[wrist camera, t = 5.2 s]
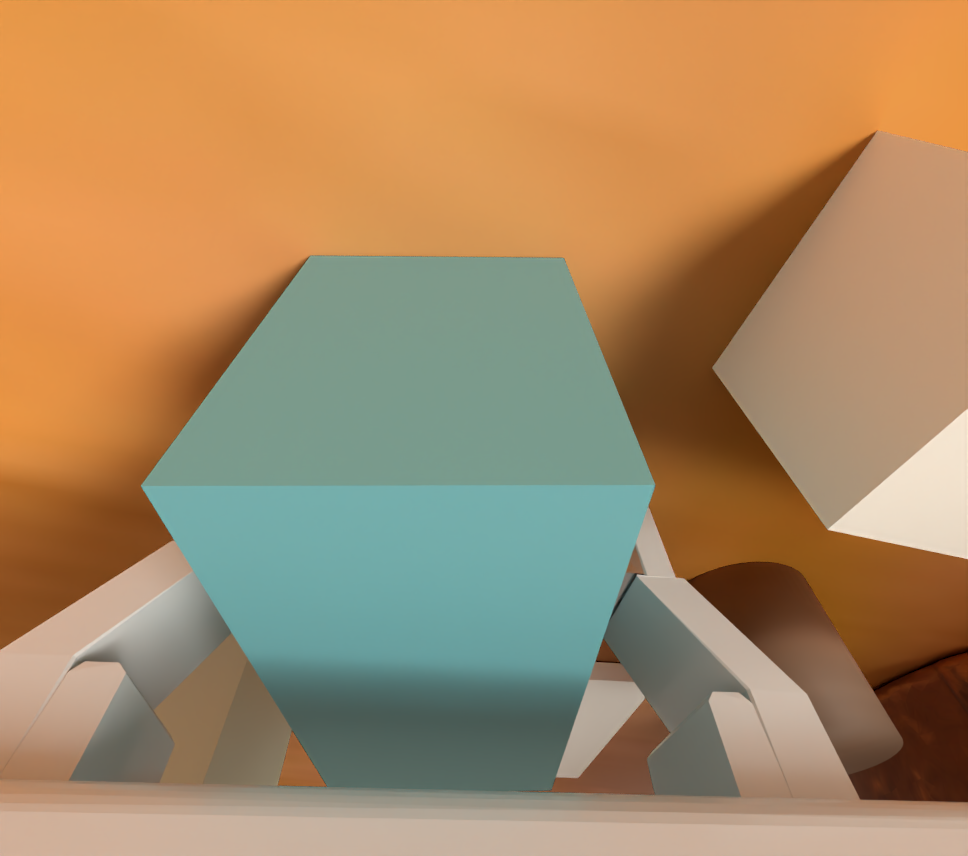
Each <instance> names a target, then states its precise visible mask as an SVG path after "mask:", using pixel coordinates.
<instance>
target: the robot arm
mask: <svg viewBox="0 0 968 856" xmlns="http://www.w3.org/2000/svg"><path fill="white" fill-rule="evenodd" d="M231 633H232V632H231V631H230V629H229V628H228V626H227V624H226V623H225V621H224V619H223V618H222V616H221V615H220V613H219V611H218V610H217V608H216V607H215V605H214V603H213V602H212V600H211V599H210V597H209V595H208V594H207V592H206V590H205V589H204V587H203V586H202V584H201V582H200V581H199V579H198V578H197V576H196V574H195V573H194V571H193V570H192V568H191V566H190V565H189V563H188V561H187V560H186V558H185V557H184V555H183V553H182V552H181V550H180V549H179V547H178V545H177V544H176V542H175V541H170V542H169V543H167V544H166V545H164V546H163V547H161V548H159V549H158V550H156V551H155V552H153V553H152V554H150V555H148V556H147V557H145V558H144V559H142V560H141V561H139V562H137V563H136V564H134V565H133V566H131V567H130V568H128V569H126V570H125V571H123V572H122V573H120V574H119V575H117V576H116V577H114V578H112V579H111V580H109V581H108V582H106V583H105V584H103V585H101V586H100V587H98V588H97V589H95V590H94V591H92V592H90V593H89V594H87V595H86V596H84V597H83V598H81V599H79V600H78V601H76V602H75V603H73V604H72V605H70V606H68V607H67V608H65V609H64V610H62V611H61V612H59V613H57V614H56V615H54V616H53V617H51V618H50V619H48V620H46V621H45V622H43V623H42V624H40V625H39V626H37V627H35V628H34V629H32V630H31V631H29V632H28V633H26V634H24V635H23V636H21V637H20V638H18V639H17V640H15V641H13V642H12V643H10V644H9V645H7V646H6V647H4V648H2V649H1V650H0V856H968V802H937V801H896V800H860V798H859V796H858V794H857V792H856V790H855V788H854V786H853V784H852V782H851V780H850V778H849V776H848V774H847V772H846V770H845V768H844V766H843V764H842V762H841V760H840V758H839V757H838V755H837V753H836V751H835V749H834V747H833V745H832V743H831V741H830V739H829V737H828V735H827V733H826V731H825V729H824V727H823V725H822V723H821V721H820V719H819V717H818V715H817V713H816V711H815V709H814V707H813V705H812V703H811V701H810V699H809V697H808V695H807V694H806V693H805V692H804V691H803V690H802V689H801V688H800V687H799V686H798V685H797V684H796V683H795V682H794V681H793V680H791V679H790V678H789V677H788V676H787V675H786V674H785V673H784V672H783V671H782V670H781V669H780V668H779V667H778V666H777V665H776V664H774V663H773V662H772V661H771V660H770V659H769V658H768V657H767V656H766V655H765V654H764V653H763V652H762V651H761V650H760V649H759V648H757V647H756V646H755V645H754V644H753V643H752V642H751V641H750V640H749V639H748V638H747V637H746V636H745V635H744V634H743V633H741V632H740V631H739V630H738V629H737V628H736V627H735V626H734V625H733V624H732V623H731V622H730V621H729V620H728V619H727V618H726V617H724V616H723V615H722V614H721V613H720V612H719V611H718V610H717V609H716V608H715V607H714V606H713V605H712V604H711V603H710V602H709V601H707V600H706V599H705V598H704V597H703V596H702V595H701V594H700V593H699V592H698V591H697V590H696V589H695V588H694V587H693V586H692V585H690V584H689V583H688V582H687V581H686V580H685V579H684V578H676V577H675V574H674V572H673V569H672V566H671V564H670V561H669V558H668V556H667V553H666V551H665V548H664V545H663V543H662V540H661V538H660V535H659V532H658V530H657V527H656V524H655V522H654V519H653V517H652V514H651V511H650V509H649V506H648V508H647V511H646V514H645V517H644V520H643V523H642V526H641V529H640V532H639V535H638V538H637V541H636V544H635V546H634V549H633V552H632V555H631V558H630V561H629V564H628V567H627V570H626V573H625V576H624V579H623V582H622V585H621V587H620V590H619V593H618V596H617V599H616V602H615V605H614V608H613V611H612V614H611V617H610V620H609V623H608V626H607V629H606V631H605V634H604V637H603V638H604V640H605V641H606V643H607V644H608V646H609V647H610V648H611V650H612V651H613V653H614V654H615V655H616V657H617V658H618V660H619V661H620V663H621V664H622V665H623V667H624V668H625V670H626V671H627V672H628V674H629V675H630V677H631V678H632V679H633V681H634V682H635V684H636V685H637V687H638V688H639V689H640V691H641V692H642V694H643V695H644V696H645V698H646V699H647V701H648V702H649V704H650V705H651V706H652V708H653V709H654V711H655V712H656V713H657V715H658V716H659V718H660V719H661V720H662V722H663V723H664V725H665V726H666V728H667V729H668V730H669V732H670V734H669V735H668V736H667V737H666V738H665V739H664V740H663V741H662V742H661V743H660V744H659V745H658V746H657V747H656V748H655V749H654V750H653V751H652V752H651V754H650V755H649V756H648V758H647V763H648V767H649V772H650V776H651V780H652V785H653V789H654V793H655V795H645V794H604V793H562V792H520V791H479V790H437V789H395V788H353V787H312V786H270V785H228V784H187V783H160V780H161V778H162V775H163V773H164V770H165V768H166V765H167V763H168V760H169V758H170V755H171V753H172V750H173V748H174V746H175V743H174V741H173V739H172V736H171V734H170V733H169V732H168V730H167V729H166V727H165V726H164V725H163V723H162V722H161V720H160V719H159V718H158V716H157V715H156V713H155V712H154V709H155V708H156V707H157V706H158V705H159V704H160V703H161V702H162V701H163V700H164V699H166V698H167V697H168V696H169V695H170V694H171V693H172V692H173V691H174V690H175V689H176V688H177V687H178V686H179V685H180V684H181V683H182V682H183V681H184V680H185V679H186V678H187V677H188V676H189V675H190V674H191V673H192V672H193V671H194V670H195V669H196V668H197V667H198V666H199V665H200V664H201V663H202V662H203V661H204V660H205V659H206V658H207V657H208V656H209V655H210V654H211V653H212V652H213V651H214V650H215V649H216V648H217V647H218V646H219V645H220V644H221V643H222V642H223V641H224V640H225V639H226V638H227V637H228V636H229V635H230V634H231Z"/></svg>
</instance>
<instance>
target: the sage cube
mask: <svg viewBox="0 0 968 856" xmlns="http://www.w3.org/2000/svg"><path fill="white" fill-rule="evenodd" d="M154 712H155V713H156V715H157V716H158V718H159V719H160V720H161V722H162V723H163V725H164V726H165V727H166V729H167V730H168V732H169V733H170V734H171V736H172V739H173V741H174V743H175V746H174V748H173V750H172V753H171V755H170V758H169V760H168V763H167V765H166V768H165V770H164V773H163V775H162V778H161V780H160V783H187V784H228V785H270V786H278V782H279V778H280V774H281V771H282V767H283V763H284V759H285V755H286V751H287V748H288V744H289V740H290V736H291V732H292V729H291V727H290V726H289V724H288V723H287V721H286V719H285V718H284V716H283V714H282V713H281V711H280V710H279V708H278V706H277V705H276V703H275V702H274V700H273V698H272V697H271V695H270V694H269V692H268V690H267V689H266V687H265V685H264V684H263V682H262V681H261V679H260V677H259V676H258V674H257V673H256V671H255V669H254V668H253V666H252V665H251V663H250V661H249V660H248V658H247V657H246V655H245V653H244V652H243V650H242V648H241V647H240V645H239V644H238V642H237V640H236V639H235V637H234V636H233V634H232V633H231V634H230V635H229V636H228V637H227V638H226V639H225V640H224V641H223V642H222V643H221V644H220V645H219V646H218V647H217V648H216V649H215V650H214V651H213V652H212V653H211V654H210V655H209V656H208V657H207V658H206V659H205V660H204V661H203V662H202V663H201V664H200V665H199V666H198V667H197V668H196V669H195V670H194V671H193V672H192V673H191V674H190V675H189V676H188V677H187V678H186V679H185V680H184V681H183V682H182V683H181V684H180V685H179V686H178V687H177V688H176V689H175V690H174V691H173V692H172V693H171V694H170V695H169V696H168V697H167V698H166V699H164V700H163V701H162V702H161V703H160V704H159V705H158V706H157V707H156V708H155V709H154Z"/></svg>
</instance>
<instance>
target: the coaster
mask: <svg viewBox="0 0 968 856" xmlns="http://www.w3.org/2000/svg"><path fill="white" fill-rule="evenodd" d="M644 699H645V696H644V695H643V694H642V692H641V691H640V689H639V688H638V687H637V685H636V684H635V682H634V681H633V679H632V678H631V677H630V675H629V674H628V672H627V671H626V670H625V668H624V667H623V665H622V664H621V663H605V662H595V664H594V667H593V670H592V672H591V675H590V678H589V681H588V684H587V687H586V690H585V693H584V696H583V699H582V702H581V705H580V708H579V711H578V713H577V716H576V719H575V722H574V725H573V728H572V731H571V734H570V737H569V740H568V743H567V746H566V749H565V752H564V755H563V757H562V760H561V763H560V766H559V769H558V772H557V775H556V777H560V778H578V777H579V776H580V775H581V774H582V773H583V772H584V770H585V769H586V768H587V767H588V766H589V764H590V763H591V762H592V761H593V760H594V759H595V757H596V756H597V755H598V754H599V753H600V751H601V750H602V749H603V748H604V747H605V745H606V744H607V743H608V742H609V741H610V740H611V738H612V737H613V736H614V735H615V734H616V732H617V731H618V730H619V729H620V728H621V727H622V725H623V724H624V723H625V722H626V721H627V719H628V718H629V717H630V716H631V715H632V713H633V712H634V711H635V710H636V709H637V708H638V706H639V705H640V704H641V703H642V702H643V700H644Z"/></svg>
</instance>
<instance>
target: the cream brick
mask: <svg viewBox="0 0 968 856" xmlns="http://www.w3.org/2000/svg"><path fill="white" fill-rule="evenodd" d="M712 369H713V370H714V371H715V373H716V374H717V376H718V377H719V378H720V380H721V381H722V383H723V384H724V385H725V387H726V388H727V390H728V391H729V392H730V394H731V395H732V397H733V398H734V399H735V401H736V402H737V404H738V405H739V406H740V408H741V409H742V411H743V412H744V413H745V415H746V416H747V418H748V419H749V420H750V422H751V423H752V425H753V426H754V427H755V429H756V430H757V432H758V433H759V434H760V436H761V437H762V439H763V440H764V441H765V443H766V444H767V446H768V447H769V448H770V450H771V451H772V453H773V454H774V455H775V457H776V458H777V460H778V461H779V462H780V464H781V465H782V467H783V468H784V469H785V471H786V472H787V474H788V475H789V476H790V478H791V479H792V481H793V482H794V483H795V485H796V486H797V488H798V489H799V490H800V492H801V493H802V495H803V496H804V497H805V499H806V500H807V502H808V503H809V504H810V506H811V507H812V509H813V510H814V511H815V513H816V514H817V516H818V517H819V518H820V520H821V521H822V523H823V524H824V525H825V527H826V528H827V530H831V531H836V532H841V533H846V534H850V535H855V536H860V537H865V538H870V539H874V540H879V541H884V542H889V543H893V544H898V545H903V546H908V547H912V548H917V549H922V550H927V551H932V552H936V553H941V554H946V555H951V556H955V557H960V558H965V559H968V152H966V151H962V150H958V149H953V148H949V147H945V146H941V145H937V144H933V143H928V142H924V141H920V140H916V139H912V138H907V137H903V136H899V135H895V134H891V133H887V132H882V131H877V132H876V133H875V135H874V136H873V138H872V139H871V141H870V142H869V143H868V145H867V146H866V148H865V149H864V151H863V152H862V154H861V155H860V156H859V158H858V159H857V161H856V162H855V164H854V165H853V166H852V168H851V169H850V171H849V172H848V174H847V175H846V176H845V178H844V179H843V181H842V182H841V184H840V185H839V187H838V188H837V189H836V191H835V192H834V194H833V195H832V197H831V198H830V199H829V201H828V202H827V204H826V205H825V207H824V208H823V209H822V211H821V212H820V214H819V215H818V217H817V218H816V219H815V221H814V222H813V224H812V225H811V227H810V228H809V230H808V231H807V232H806V234H805V235H804V237H803V238H802V240H801V241H800V242H799V244H798V245H797V247H796V248H795V250H794V251H793V252H792V254H791V255H790V257H789V258H788V260H787V261H786V263H785V264H784V265H783V267H782V268H781V270H780V271H779V273H778V274H777V275H776V277H775V278H774V280H773V281H772V283H771V284H770V285H769V287H768V288H767V290H766V291H765V293H764V294H763V295H762V297H761V298H760V300H759V301H758V303H757V304H756V306H755V307H754V308H753V310H752V311H751V313H750V314H749V316H748V317H747V318H746V320H745V321H744V323H743V324H742V326H741V327H740V328H739V330H738V331H737V333H736V334H735V336H734V337H733V339H732V340H731V341H730V343H729V344H728V346H727V347H726V349H725V350H724V351H723V353H722V354H721V356H720V357H719V359H718V360H717V361H716V363H715V364H714V366H713V367H712Z"/></svg>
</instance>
